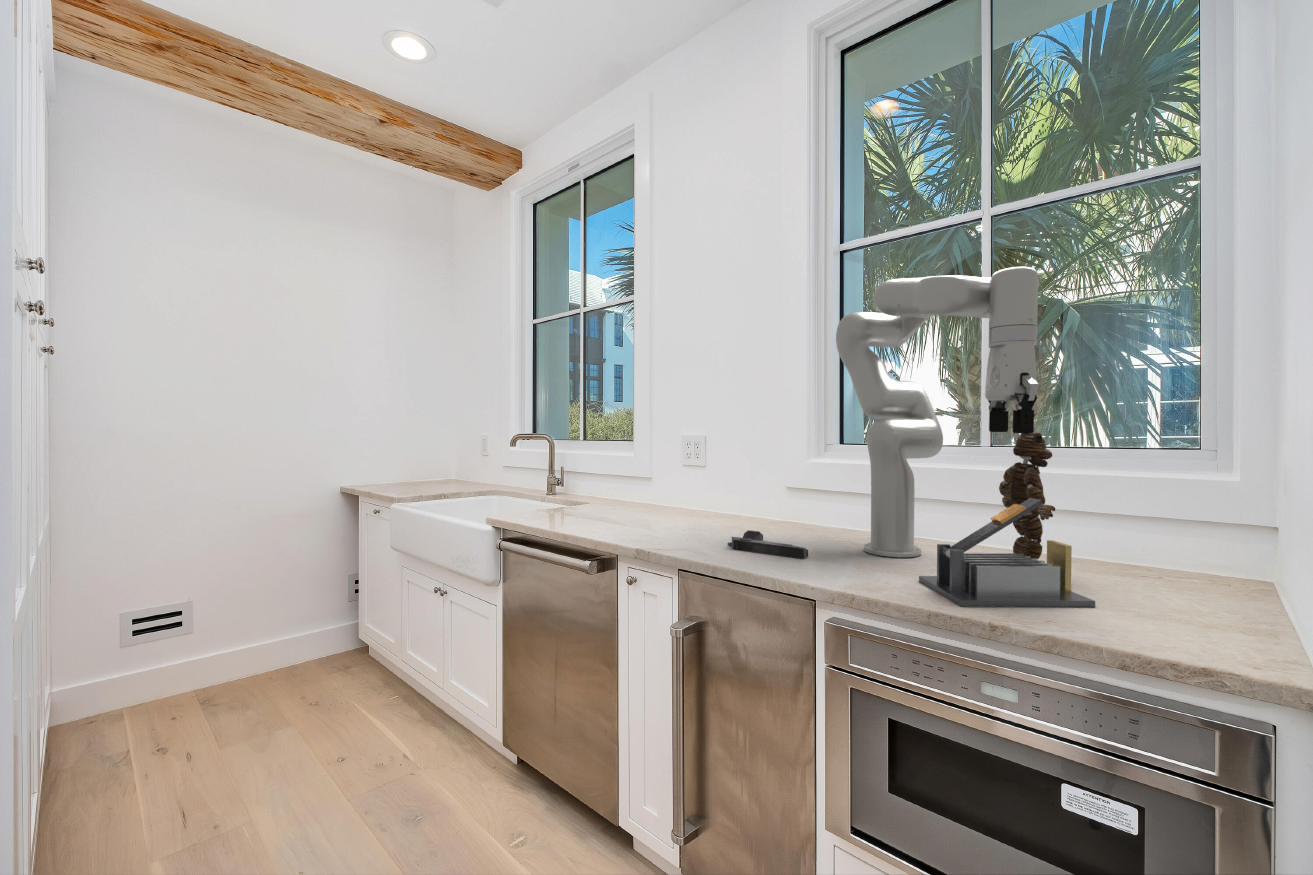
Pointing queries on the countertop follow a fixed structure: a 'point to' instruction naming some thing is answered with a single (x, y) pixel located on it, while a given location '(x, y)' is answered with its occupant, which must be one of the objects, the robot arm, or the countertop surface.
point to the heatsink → (1006, 578)
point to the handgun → (766, 546)
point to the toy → (1027, 491)
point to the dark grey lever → (995, 525)
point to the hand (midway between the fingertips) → (1010, 432)
